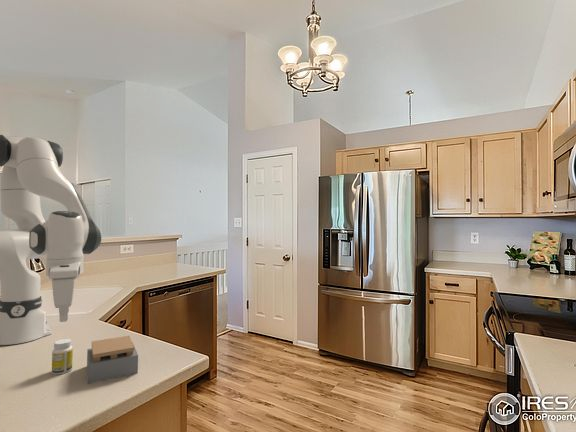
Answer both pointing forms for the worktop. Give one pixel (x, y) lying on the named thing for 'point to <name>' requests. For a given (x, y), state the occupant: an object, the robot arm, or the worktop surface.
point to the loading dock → (111, 359)
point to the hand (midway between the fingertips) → (64, 317)
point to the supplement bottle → (62, 356)
